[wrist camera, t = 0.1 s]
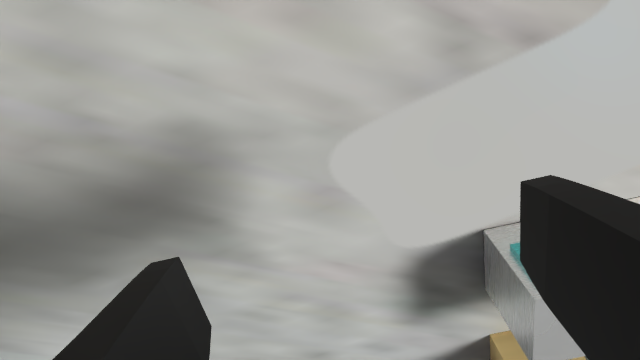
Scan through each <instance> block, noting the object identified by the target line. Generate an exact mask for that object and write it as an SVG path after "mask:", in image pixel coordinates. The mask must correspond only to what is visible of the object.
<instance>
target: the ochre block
mask: <svg viewBox="0 0 640 360" xmlns="http://www.w3.org/2000/svg"><path fill="white" fill-rule="evenodd" d="M490 359H491V360H528V358H527V357H526V355H525V353H524V352H523V350H522V349H521V347H520V345H519V344H518V342H517V340H516V339H515V337H514V335H513V334H512V332H511V331H505V332H500V333H496V334H491V335H490ZM568 360H587V359H586V358H585V357H584V356H583V357H578V358H573V359H568Z"/></svg>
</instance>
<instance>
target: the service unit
mask: <svg viewBox="0 0 640 360" xmlns="http://www.w3.org/2000/svg"><path fill="white" fill-rule="evenodd" d="M483 236H484V266H485V290H486V291H487V293H488V294H489V296H490V298H491V299H492V301H493V303H494V304H495V306H496V308H497V309H498V311H499V313H500V314H501V316H502V317H503V319H504V321H505V322H506V324H507V326H508V327H509V329H510V331H511V332H512V334H513V335H514V337H515V339H516V340H517V342H518V344H519V345H520V347H521V349H522V350H523V352H524V353H525V355H526V357H527V358H528V360H568V359H573V358H578V357H583V356H586V355H585V354H584V353H583V352H582V350H581V349H580V348H579V346H578V345H577V344H576V343H575V341H574V340H573V339H572V338H571V336H570V335H569V334H568V332H567V331H566V330H565V328H564V327H563V326H562V325H561V323H560V322H559V321H558V319H557V318H556V317H555V315H554V314H553V313H552V312H551V310H550V309H549V308H548V306H547V305H546V304H545V302H544V301H543V299H542V297H541V296H540V294H539V292H538V291H537V289H536V288H535V286H534V284H533V283H532V281H531V279H530V277H529V276H528V274H527V272H526V270H525V269H524V267H523V265H522V263H521V261H520V222H519V223H514V224H510V225H505V226H500V227H496V228H491V229H486V230H483Z"/></svg>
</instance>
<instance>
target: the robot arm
mask: <svg viewBox="0 0 640 360" xmlns="http://www.w3.org/2000/svg"><path fill="white" fill-rule="evenodd" d="M520 261H521V263H522V265H523V267H524V269H525V270H526V272H527V274H528V276H529V277H530V279H531V281H532V283H533V284H534V286H535V288H536V289H537V291H538V292H539V294H540V296H541V297H542V299H543V301H544V302H545V304H546V305H547V306H548V308H549V309H550V310H551V312H552V313H553V314H554V315H555V317H556V318H557V319H558V321H559V322H560V323H561V325H562V326H563V327H564V328H565V330H566V331H567V332H568V334H569V335H570V336H571V338H572V339H573V340H574V341H575V343H576V344H577V345H578V346H579V348H580V349H581V350H582V352H583V353H584V354H585V355H586V357H587V358H588V359H589V360H640V204H638V203H635V202H632V201H629V200H626V199H623V198H620V197H618V196H615V195H612V194H609V193H606V192H603V191H600V190H597V189H594V188H592V187H589V186H586V185H583V184H579V183H576V182H573V181H570V180H566V179H563V178H560V177H556V176H552V175H549V176H545V177H540V178H536V179H531V180H527V181H522V182H521V202H520ZM210 340H211V324H210V322H209V320H208V318H207V316H206V314H205V311H204V309H203V307H202V305H201V303H200V301H199V299H198V296H197V294H196V292H195V290H194V288H193V286H192V284H191V281H190V279H189V277H188V275H187V273H186V271H185V269H184V266H183V264H182V262H181V260H180V258H179V257H176V258H171V259H167V260H162V261H158V262H153V263H151V264H149V265H148V266H147V267H146V268H145V269H144V270H142V271H141V272H140V273H139V274H138V275H137V276H136V277H135V278H134V279H133V280H132V281H131V282H130V283H129V284H128V285H127V286H126V287H125V288H124V289H123V290H122V291H121V292H120V293H119V294H118V295H117V296H116V297H115V298H114V299H113V300H112V301H111V302H110V303H109V304H108V305H107V306H106V307H105V308H104V309H103V310H102V311H101V312H100V313H99V314H98V315H97V316H96V317H95V318H94V319H93V320H92V321H91V322H90V323H89V324H88V325H87V326H86V327H85V328H84V329H83V330H82V331H81V332H80V333H79V334H78V335H77V336H76V337H75V339H73V340H72V341H71V342H70V343H69V344H68V345H67V346H66V347H65V348H64V349H63V350H62V351H61V352H60V353H59V354H58V355H57V356H56V357H55V358H54V359H53V360H209V355H210Z"/></svg>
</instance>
